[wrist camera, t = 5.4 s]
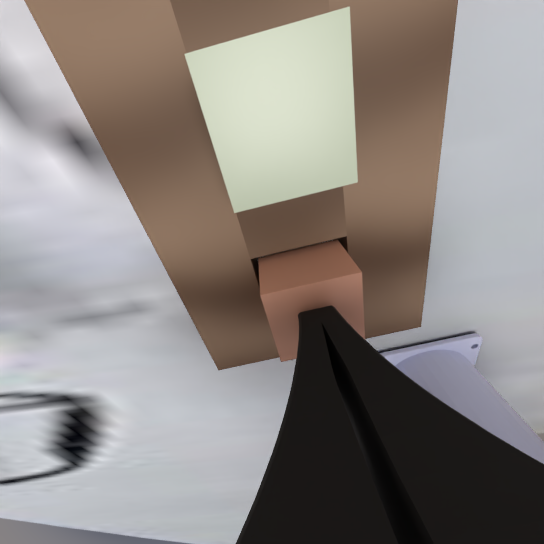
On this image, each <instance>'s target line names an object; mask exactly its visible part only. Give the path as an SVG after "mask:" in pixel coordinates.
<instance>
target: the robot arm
mask: <svg viewBox="0 0 544 544" xmlns="http://www.w3.org/2000/svg"><path fill="white" fill-rule="evenodd" d="M298 319H299V341H298V350H297V359H296V365H295V371H294V376H293V382H292V386H291V391H290V395H289V399H288V403H287V407H286V411H285V414H284V418H283V421H282V424H281V428H280V431H279V434H278V438H277V441H276V444H275V447H274V450H273V453H272V455H271V458H270V461H269V463H268V466H267V469H266V471H265V474H264V477H263V480H262V482H261V485H260V488H259V490H258V493H257V495H256V498H255V500H254V503H253V505H252V507H251V510H250V512H249V514H248V517H247V519H246V521H245V524H244V526H243V528H242V531H241V533H240V535H239V538H238V540H237V542H236V544H544V442H543V440H542V439H541V438H540V437H539V436H538V435H537V434H536V433H535V432H534V431H533V430H532V429H531V427H530V426H529V425H528V424H527V423H526V422H525V421H524V420H523V419H522V418H521V417H520V416H519V414H518V413H517V412H516V411H515V410H514V409H513V408H512V407H511V406H510V405H509V404H508V403H507V401H506V400H505V399H504V398H503V397H502V396H501V395H500V394H499V393H498V392H497V391H496V390H495V388H494V387H493V386H492V385H491V384H490V383H489V382H488V381H487V380H486V379H485V378H484V377H483V375H482V374H481V373H480V372H479V371H478V370H477V369H476V368H475V363H476V360H477V357H478V353H479V350H480V347H481V343H482V337H481V336H480V335H479V334H477V333H473V334H468V335H463V336H459V337H454V338H449V339H444V340H440V341H435V342H430V343H425V344H421V345H416V346H411V347H406V348H402V349H397V350H392V351H388V352H383V353H379V352H378V351H377V350H375V349H374V348H373V347H372V346H371V345H370V344H369V343H368V342H367V341H366V340H365V339H364V338H363V337H362V336H360V335H359V334H358V333H357V332H356V331H355V330H354V329H353V327H352V326H351V325H350V324H349V323H348V322H347V321H346V320H345V319H344V318H343V317H342V316H341V314H340V313H339V312H338V311H337V310H336V308H335V307H334V306H332V305H330V306H326V307H321V308H317V309H312V310H308V311H304V312H300V313H299V314H298Z"/></svg>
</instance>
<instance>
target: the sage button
mask: <svg viewBox="0 0 544 544" xmlns="http://www.w3.org/2000/svg"><path fill="white" fill-rule="evenodd" d="M184 55H185V58H186V61H187V64H188V67H189V71H190V74H191V77H192V80H193V83H194V86H195V90H196V93H197V96H198V99H199V102H200V106H201V109H202V112H203V115H204V118H205V121H206V125H207V128H208V131H209V134H210V137H211V140H212V144H213V147H214V150H215V153H216V156H217V160H218V163H219V166H220V169H221V172H222V175H223V179H224V182H225V185H226V188H227V191H228V195H229V198H230V201H231V204H232V207H233V210H234V213H237V212H241V211H245V210H249V209H253V208H257V207H261V206H265V205H269V204H273V203H277V202H281V201H285V200H289V199H293V198H297V197H301V196H305V195H309V194H313V193H317V192H321V191H325V190H329V189H333V188H337V187H341V186H345V185H349V184H353V183H357V182H358V175H357V153H356V132H355V110H354V88H353V67H352V45H351V24H350V6H349V7H346V8H342V9H339V10H335V11H332V12H328V13H325V14H321V15H318V16H315V17H311V18H308V19H304V20H301V21H297V22H294V23H290V24H287V25H283V26H280V27H276V28H273V29H269V30H266V31H262V32H259V33H255V34H252V35H248V36H245V37H241V38H238V39H234V40H231V41H227V42H224V43H221V44H217V45H214V46H210V47H207V48H203V49H200V50H196V51H193V52H189V53H186V54H184Z"/></svg>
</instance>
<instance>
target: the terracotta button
mask: <svg viewBox="0 0 544 544" xmlns="http://www.w3.org/2000/svg"><path fill="white" fill-rule="evenodd" d="M258 263H259V282H260V296H261V300H262V303H263V306H264V309H265V312H266V315H267V319H268V322H269V325H270V328H271V331H272V335H273V338H274V341H275V344H276V347H277V350H278V354H279V357H280V360H281V362H283V361H288V360H292V359H297V350H298V341H299V319H298V314H299V313H300V312H304V311H308V310H312V309H317V308H321V307H326V306H330V305H332V306H334V307H335V308H336V310H337V311H338V312H339V313H340V314H341V316H342V317H343V318H344V319H345V320H346V321H347V322H348V323H349V324H350V325H351V326H352V327H353V329H354V330H355V331H356V332H357V333H358V334H359V335H360V336H362V337H363V338H364V339H365V326H364V305H363V283H362V271H361V270H360V269H359V267H358V266H357V265H356V263H355V262H354V261H353V259H352V258H351V257H350V255H349V254H348V253H347V251H346V250H345V249H344V247H343V246H342V245H341V243H340V242H339V241H338V240H333V241H328V242H324V243H320V244H316V245H312V246H307V247H303V248H299V249H295V250H291V251H286V252H282V253H278V254H274V255H269V256H265V257H261V258H258Z"/></svg>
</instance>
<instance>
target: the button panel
mask: <svg viewBox="0 0 544 544" xmlns="http://www.w3.org/2000/svg"><path fill="white" fill-rule="evenodd" d="M24 1H25V2H26V4H27V6H28V8H29V10H30V12H31V14H32V16H33V18H34V20H35V21H36V23H37V25H38V27H39V29H40V31H41V33H42V35H43V37H44V39H45V41H46V42H47V44H48V46H49V48H50V50H51V52H52V54H53V56H54V58H55V60H56V61H57V63H58V65H59V67H60V69H61V71H62V73H63V75H64V77H65V79H66V81H67V82H68V84H69V86H70V88H71V90H72V92H73V94H74V96H75V98H76V100H77V101H78V103H79V105H80V107H81V109H82V111H83V113H84V115H85V117H86V119H87V121H88V122H89V124H90V126H91V128H92V130H93V132H94V134H95V136H96V138H97V140H98V141H99V143H100V145H101V147H102V149H103V151H104V153H105V155H106V157H107V159H108V161H109V162H110V164H111V166H112V168H113V170H114V172H115V174H116V176H117V178H118V180H119V181H120V183H121V185H122V187H123V189H124V191H125V193H126V195H127V197H128V199H129V200H130V202H131V204H132V206H133V208H134V210H135V212H136V214H137V216H138V218H139V220H140V221H141V223H142V225H143V227H144V229H145V231H146V233H147V235H148V237H149V239H150V240H151V242H152V244H153V246H154V248H155V250H156V252H157V254H158V256H159V258H160V260H161V261H162V263H163V265H164V267H165V269H166V271H167V273H168V275H169V277H170V279H171V280H172V282H173V284H174V286H175V288H176V290H177V292H178V294H179V296H180V298H181V300H182V301H183V303H184V305H185V307H186V309H187V311H188V313H189V315H190V317H191V319H192V320H193V322H194V324H195V326H196V328H197V330H198V332H199V334H200V336H201V338H202V340H203V341H204V343H205V345H206V347H207V349H208V351H209V353H210V355H211V357H212V359H213V360H214V362H215V364H216V366H217V368H218V370H222V369H227V368H231V367H236V366H241V365H245V364H250V363H255V362H259V361H264V360H269V359H273V358H278V357H279V354H278V350H277V347H276V344H275V341H274V338H273V335H272V331H271V328H270V325H269V322H268V319H267V315H266V312H265V309H264V306H263V303H262V300H261V296H260V282H259V265H258V261H257V257H261V256H265V255H270V254H274V253H278V252H282V251H286V250H291V249H295V248H299V247H303V246H307V245H312V244H316V243H320V242H324V241H329V240H333V239H334V240H338V241H339V242H340V243H341V245H342V246H343V247H344V249H345V250H346V251H347V253H348V254H349V255H350V257H351V258H352V259H353V261H354V262H355V263H356V265H357V266H358V267H359V269H360V270H361V271H362V283H363V305H364V326H365V339H366V338H371V337H376V336H380V335H385V334H390V333H394V332H399V331H404V330H408V329H413V328H418V327H421V321H422V312H423V304H424V295H425V286H426V277H427V269H428V260H429V251H430V242H431V233H432V225H433V216H434V207H435V198H436V189H437V181H438V172H439V163H440V154H441V145H442V137H443V128H444V119H445V110H446V102H447V93H448V84H449V75H450V66H451V58H452V49H453V40H454V31H455V22H456V14H457V5H458V0H24ZM349 6H350V24H351V45H352V67H353V88H354V110H355V132H356V153H357V175H358V182H357V183H353V184H349V185H345V186H341V187H337V188H333V189H329V190H325V191H321V192H317V193H313V194H309V195H305V196H301V197H297V198H293V199H289V200H285V201H281V202H277V203H273V204H269V205H265V206H261V207H257V208H253V209H249V210H245V211H241V212H237V213H234V210H233V207H232V204H231V201H230V198H229V195H228V191H227V188H226V185H225V182H224V179H223V175H222V172H221V169H220V166H219V163H218V160H217V156H216V153H215V150H214V147H213V144H212V140H211V137H210V134H209V131H208V128H207V125H206V121H205V118H204V115H203V112H202V109H201V106H200V102H199V99H198V96H197V93H196V90H195V86H194V83H193V80H192V77H191V74H190V71H189V67H188V64H187V61H186V58H185V55H184V54H186V53H189V52H193V51H196V50H200V49H203V48H207V47H210V46H214V45H217V44H221V43H224V42H227V41H231V40H234V39H238V38H241V37H245V36H248V35H252V34H255V33H259V32H262V31H266V30H269V29H273V28H276V27H280V26H283V25H287V24H290V23H294V22H297V21H301V20H304V19H308V18H311V17H315V16H318V15H321V14H325V13H328V12H332V11H335V10H339V9H342V8H346V7H349Z"/></svg>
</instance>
